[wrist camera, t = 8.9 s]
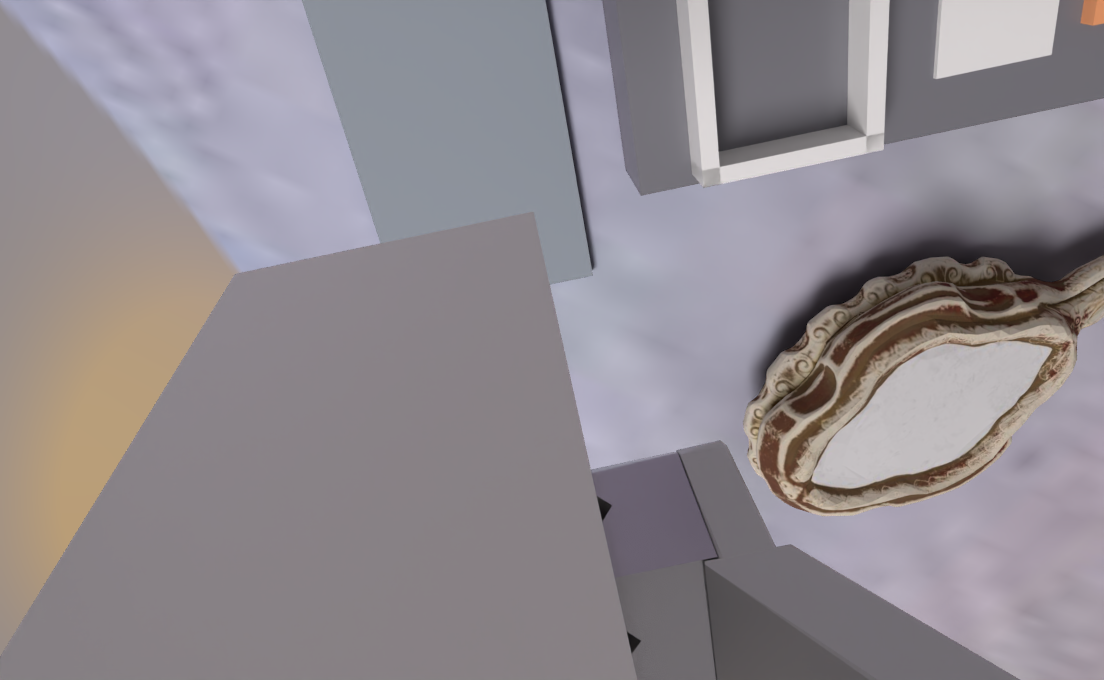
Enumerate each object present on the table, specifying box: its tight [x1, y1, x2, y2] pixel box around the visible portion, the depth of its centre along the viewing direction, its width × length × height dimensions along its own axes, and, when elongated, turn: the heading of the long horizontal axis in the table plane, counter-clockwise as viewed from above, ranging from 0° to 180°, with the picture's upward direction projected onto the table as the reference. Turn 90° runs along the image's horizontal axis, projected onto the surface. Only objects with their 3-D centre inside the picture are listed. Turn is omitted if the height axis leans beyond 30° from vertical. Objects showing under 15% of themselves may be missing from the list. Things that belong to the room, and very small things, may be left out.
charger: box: [0, 212, 637, 680], centre depth 8 cm, size 5×4×8 cm
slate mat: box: [302, 0, 593, 284], centre depth 28 cm, size 16×8×1 cm, turn 10°
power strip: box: [602, 0, 1104, 196], centre depth 26 cm, size 8×18×4 cm, turn 100°
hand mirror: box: [743, 255, 1104, 516], centre depth 33 cm, size 11×6×30 cm
